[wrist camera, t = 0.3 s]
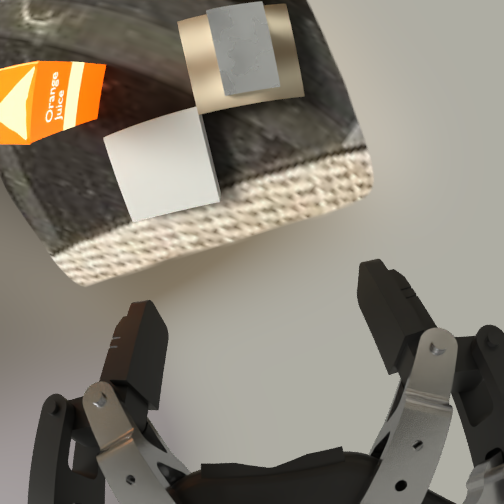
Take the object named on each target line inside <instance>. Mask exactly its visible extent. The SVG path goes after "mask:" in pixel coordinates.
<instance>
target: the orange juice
mask: <svg viewBox="0 0 504 504" xmlns="http://www.w3.org/2000/svg"><path fill="white" fill-rule="evenodd" d="M105 68H106V65H102V64H92V63H84V62H55V61H35V62H29V63H24V64H19V65H15V66H10V67H6V68H2V69H0V144H29V143H32V142H34V141H37V140H39V139H42V138H44V137H46V136H49V135H51V134H54V133H57V132H59V131H62V130H66V129H69V128H71V127H74V126H76V125H79V124H82V123H85V122H88V121H91V120H95V119H97V116H98V108H99V102H100V95H101V89H102V84H103V78H104V73H105ZM29 145H31V144H29Z"/></svg>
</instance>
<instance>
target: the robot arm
mask: <svg viewBox="0 0 504 504" xmlns="http://www.w3.org/2000/svg"><path fill="white" fill-rule="evenodd" d="M357 298H358V303H359V307H360V309H361V311H362V313H363V315H364V317H365V320H366V322H367V324H368V327H369V329H370V331H371V333H372V336H373V338H374V340H375V343H376V345H377V347H378V350H379V352H380V354H381V357H382V359H383V361H384V364H385V367H386V369H387V371H388V374H389V375H391V374H393V373H397V372H398V373H399V375H400V378H401V379H400V381H399V384H398V387H397V390H396V393H395V396H394V399H393V402H392V404H391V407H390V410H389V412H388V415H387V417H386V420H385V423H384V425H383V427H382V429H381V430H380V432H379V434H378V436H377V438H376V440H375V442H374V444H373V446H372V449H371V451H370V453H369V455H367V454H363V453H358V452H343V449H342V446H341V447H338V448H333V449H329V450H325V451H320V452H315V453H310V454H306V455H304V456H301V457H299V458H297V459H294V460H292V461H289V462H287V463H284V464H281V465H279V466H277V467H273V468H266V467H258V466H250V465H244V464H238V463H220V464H201V470H198V471H196V472H193V473H191V472H190V471H189V470H188V469H187V467H186V466H185V465H184V464H183V463H182V462H181V461H180V460H179V459H177V458H176V457H175V456H174V455H173V453H172V452H171V451H170V449H169V448H168V447H167V445H166V444H165V442H164V441H163V439H162V438H161V436H160V435H159V434H158V432H157V430H156V429H155V427H154V426H153V424H152V423H151V421H150V420H149V418H148V417H147V414H148V410H158V409H159V401H160V393H161V385H162V378H163V371H164V364H165V358H166V351H167V345H168V330H167V327H166V325H165V323H164V321H163V319H162V318H161V316H160V314H159V313H158V311H157V309H156V307H155V305H154V304H153V302H152V301H151V300H146V301H140V302H133V303H132V304H131V306H130V308H129V311H128V315H127V316H125V317H123V318H122V319H121V321H120V322H119V324H118V325H117V326H116V328H115V331H114V334H113V340H112V341H111V344H110V348H109V350H108V354H107V357H106V360H105V364H104V367H103V370H102V374H101V377H100V381H99V382H96V383H94V384H92V385H91V386H89V387H88V388H87V390H86V391H85V393H84V396H83V397H79V398H76V399H72V400H67V399H66V398H64V397H63V396H62V395H60V394H53V395H51V396H49V397H48V398H47V399H46V401H45V402H44V404H43V407H42V411H41V415H40V419H39V424H38V429H37V434H36V438H35V444H34V450H33V456H32V463H31V470H30V481H29V492H28V504H105V478H106V480H107V482H108V484H109V486H110V488H111V489H112V491H113V493H114V495H115V497H116V498H117V500H118V502H119V503H120V504H456V503H454V502H452V501H450V500H448V499H446V498H444V497H442V496H440V495H438V494H436V493H434V492H433V491H431V490H429V489H428V487H429V485H430V483H431V480H432V478H433V475H434V473H435V470H436V467H437V465H438V462H439V459H440V456H441V453H442V450H443V447H444V444H445V440H446V437H447V433H448V430H449V426H450V422H451V418H452V413H453V408H452V406H451V405H449V398H450V393H451V394H452V397H453V399H454V402H455V405H456V408H457V410H458V413H459V416H460V419H461V422H462V425H463V429H464V432H465V435H466V439H467V442H468V446H469V449H470V453H471V457H472V461H473V465H474V469H473V470H472V472H471V474H470V476H469V479H468V481H467V483H466V487H467V489H468V492H467V496H466V499H465V501H464V502H463V504H504V333H503V332H502V330H500V329H499V328H498V327H496V326H493V325H485V326H483V327H481V329H479V331H478V333H477V334H476V336H469V337H454V336H453V335H452V334H451V333H450V332H449V331H447V330H445V329H442V328H438V327H437V326H436V325H435V323H434V321H433V320H432V318H431V317H430V315H429V314H428V312H427V310H426V309H425V307H424V305H423V304H422V302H421V301H420V299H419V298H418V296H416V293H415V292H414V290H413V289H411V286H410V284H409V283H408V281H407V280H406V278H405V277H404V276H403V275H401V274H400V273H399V272H397V271H396V270H394V269H393V270H388V269H387V268H386V266H385V265H384V263H383V262H382V261H381V260H380V259H375V260H371V261H366V262H361V263H360V266H359V277H358V288H357ZM71 439H73V440H74V441H76V444H75V451H74V460H73V469H72V470H71V469H70V468H69V465H68V456H69V448H70V442H71Z"/></svg>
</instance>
